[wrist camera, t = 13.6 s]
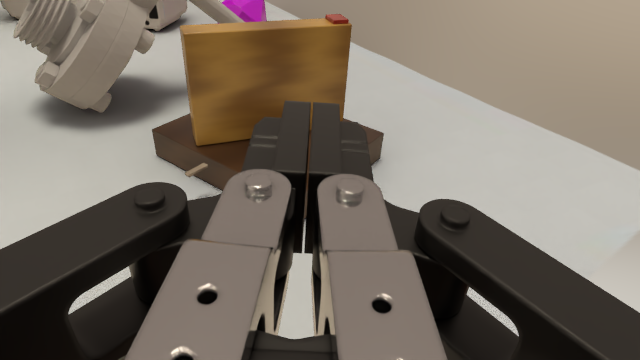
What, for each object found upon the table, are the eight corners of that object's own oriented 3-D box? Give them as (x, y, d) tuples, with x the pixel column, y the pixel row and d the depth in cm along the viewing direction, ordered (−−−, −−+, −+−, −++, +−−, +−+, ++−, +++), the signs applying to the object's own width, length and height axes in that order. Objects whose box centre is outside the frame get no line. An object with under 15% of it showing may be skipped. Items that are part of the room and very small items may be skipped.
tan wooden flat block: (196, 146, 27) (182, 29, 23) (192, 134, 29) (178, 20, 25) (342, 126, 31) (352, 20, 27) (333, 116, 32) (342, 13, 28)
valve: (224, 196, 42) (328, 76, 39) (-13, 94, 29) (112, -105, 25) (201, 138, 49) (287, 33, 46) (2, 35, 36) (102, -126, 32)
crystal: (226, 29, 55) (224, -11, 52) (269, 32, 55) (269, -7, 52) (215, 41, 51) (212, -1, 48) (262, 45, 50) (261, 3, 48)
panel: (119, 161, 29) (112, 133, 28) (263, 96, 39) (262, 73, 38) (283, 258, 23) (284, 226, 22) (407, 151, 33) (412, 125, 31)
